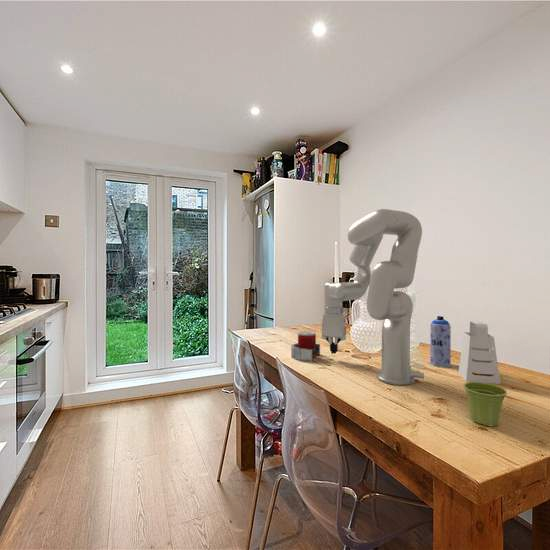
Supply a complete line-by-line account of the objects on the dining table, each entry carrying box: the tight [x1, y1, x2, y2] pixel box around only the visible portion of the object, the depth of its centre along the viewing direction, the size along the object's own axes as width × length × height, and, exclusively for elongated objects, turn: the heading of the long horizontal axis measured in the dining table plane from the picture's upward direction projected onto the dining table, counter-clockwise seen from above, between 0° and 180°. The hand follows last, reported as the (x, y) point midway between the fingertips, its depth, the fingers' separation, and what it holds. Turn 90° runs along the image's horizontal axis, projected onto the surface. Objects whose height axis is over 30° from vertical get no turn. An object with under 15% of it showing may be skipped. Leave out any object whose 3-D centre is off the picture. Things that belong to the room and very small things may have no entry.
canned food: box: [297, 330, 317, 360], centre depth 150 cm, size 8×8×11 cm
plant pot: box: [463, 382, 508, 426], centre depth 86 cm, size 9×9×9 cm
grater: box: [457, 320, 501, 385], centre depth 120 cm, size 10×10×20 cm
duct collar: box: [290, 342, 321, 362], centre depth 150 cm, size 11×13×5 cm
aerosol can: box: [429, 315, 452, 368], centre depth 137 cm, size 8×8×20 cm
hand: (333, 352), depth 144 cm, fingers closed
